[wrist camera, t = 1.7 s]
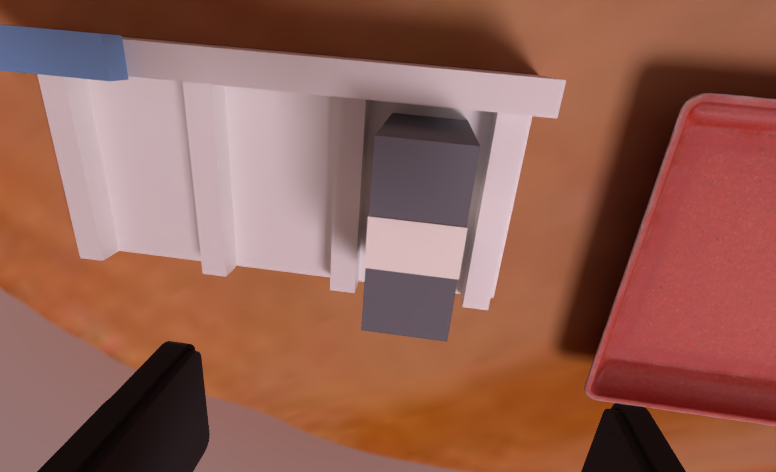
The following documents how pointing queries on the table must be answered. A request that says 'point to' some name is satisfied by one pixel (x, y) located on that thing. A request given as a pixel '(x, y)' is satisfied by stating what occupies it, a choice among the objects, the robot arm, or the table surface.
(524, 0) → the table surface
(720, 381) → the plant saucer
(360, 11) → the table surface
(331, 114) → the white ribbed panel
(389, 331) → the block
